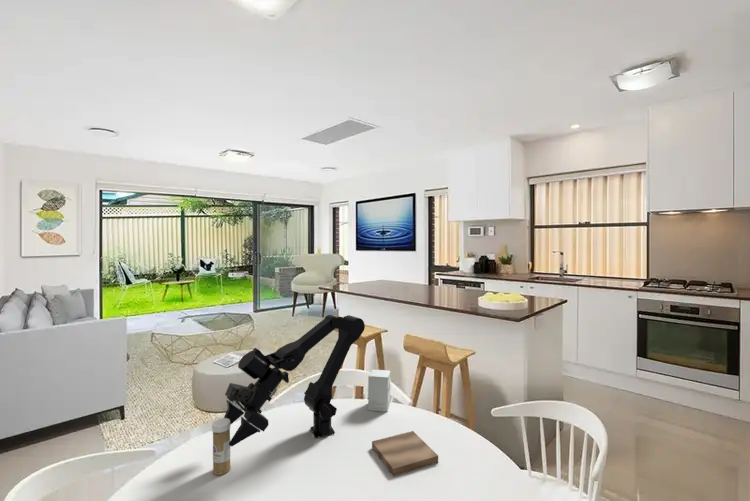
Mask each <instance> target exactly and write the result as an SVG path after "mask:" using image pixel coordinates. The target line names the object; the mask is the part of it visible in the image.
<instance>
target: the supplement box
mask: <svg viewBox="0 0 750 501" xmlns="http://www.w3.org/2000/svg"><path fill="white" fill-rule="evenodd" d="M367 378H368V379H367V380H368V382H367V383H368V384H367V386H368V388H367V392H368V394H367V395H368V397H367V400H368V401H367V402H368V403H367V409H368V411H373V412H375V411H376V412H383V413H385V412H386V413H387V412H388V410H389V408H390V404H391V370H387V369H386V370H385V369H371V371H370V373H369V374H368V377H367Z"/></svg>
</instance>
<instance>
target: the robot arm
mask: <svg viewBox="0 0 750 501" xmlns="http://www.w3.org/2000/svg"><path fill="white" fill-rule="evenodd" d="M365 329H366V324H365V322H364V320H363V319H362V318H360V317H357V316H354V315H349V314H348V315H345V316H340V315H339V316H338V315H333V314H327V315H326V316H325V317H324V319H322V320H321V321H320V322H319V323H317V324H316V325H314V326H313V327H312V328H311V329H310V330H308V331H307V332H306V333H304V334H303V335H302V336H301V337H300V338H298V339H297V340H295V341H292V342H289V343H287V344H284V345H283V346H281V347H279V348H278V349H277V350H276V351H274V352H271V353H269V354H266V355H265V354H263V353H262V351H261V350H260V349H259V348H257V347H254V348H253V349H252V350H251V351H248V352H247V353H245V354H244V355H242V357H241V358H240V360H239V362H238V364H237V366H238V369H239V370H240V371H242V372H243V373H244V374H246V375H247V376H249V377H250V378H252V379H253V380H256V381H255V383H253V382H251V383H249V384H248V385H247V386H245V385H242V384H236V383H231V382H230V383H229V384H228V387H227V388H226V391H225V393H224V395H225V396H226V398H227V399H226V407H227V409H226V412H225V413H224V417H223V418H228V419H230V426H231V425H232V424H233V423H234V422H236V421H237V420H238V419H240V425H239V427H238V429H237V430H236V432H235V433H234V435H233V436H232V437H231V438H230V443H229V445H230V448H231V447H234V446H235V445H237V444H239V443H241V442H242V441H244V440H246V439H247V438H248V437H250V436H253V435H255V434H256V433H260V432H265V430H266V429H267V428H268V427H269V419H268V418H267V417H266V416H265V415H263V414H262V412H263V411H262V408H263V406H264V405H265V404H266V402H267V401H268V402H271V400H273V398H272V397H271V396H272V394H273V393H274V392H275V390H276V389H277V388H278V386H279V385H280V384H281V382H282V381H283V382H285V383H286V384H288V383H289V384H290V379H289V378H290V377H289V374H290V373H288V372H292V371H294V370H296V368H298V366H299V365H300V364H301V363H302V361H303V360H304V359H305V357H306V354H307V353H308V352H310V350H312V348H314V347H315V346H316V345H318V344H319V343H320V342H321V341H323V339H325V338H326V337H327V336H329V334H330V333H332V332H333V331H334V330H338V331H337V333H338V337H337V340H336V343H335V345H334V346H333V348H332V351H331V353H330V355H329V357H328V360H327V361H326V364H325V365H324V367H323V370H322V372H321V374H320V376H319V377H318V379H317V380H316V381H315V382H312V381H310V382H309V383H308V385H307V389H305V392H304V397H303V401H304V404H305V406H306V407H308V410H310V411H312V412H313V415H312V416H313V418H312V419H313V426H310V430H311V433H312V435H313V438H315V439H317V438H322V437H325V436H330V435H334V434H335V433H336V432H335V430H334V428H333V426H332V418H333V417H335V415H336V413H337V410H338V409H337V407H336V406H334V405H333V404H332V403H331V402H332V399H333V398H332V397H333V385H334V383H335V381H336V379H337V377H338V374H339V372H340V370H341V367H342V365H343V364H344V361H345V360H346V358H347V355H348V352H349V351H350V348H351V346H352V345H353V344H354V343H355V342H357V341H358V340H359V339H360V337H361V336H362V334H363V333H364V331H365ZM271 366H272V367H273V368H272V367H271ZM281 369H282V370H284V371H282V370H281Z"/></svg>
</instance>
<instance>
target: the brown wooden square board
mask: <svg viewBox="0 0 750 501" xmlns="http://www.w3.org/2000/svg"><path fill="white" fill-rule="evenodd" d="M371 448H372V450H373V451H374V453H375V454H376V455H377V457H378V458H379V459H380V461H381V463H383V465H384V466H385V467H386V469H387V470H388V471H389V473H390V474H391V475H392V477H395V476H398V475H402V474H405V473H409V472H412V471H415V470H419V469H421V468H422V469H423V468H425V467H429V466H432V465H436V464H438V463H439V455H438V454H437V453H436V452H435V451H434V449H432V448H431V447H430V446H429V445H428V444H427V443H426V442H425V441H424V440H423V439H422V438H421V437H420V436H419V435H418V434H417V433H416V432H414V430H411V431H408V432H404V433H400V434H399V433H398V434H395V435H393V436H387V437H384V438H380V439H376V440H372V441H371Z"/></svg>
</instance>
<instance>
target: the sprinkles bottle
mask: <svg viewBox="0 0 750 501" xmlns="http://www.w3.org/2000/svg"><path fill="white" fill-rule="evenodd" d="M211 431H212V463H213V464H212V465H213V467H212V473H213V474H214V475H215V476H222V475H225V474H227V473H228V472H230V470H231V446H230V445H229V443H230V441H231V425H230V419H228V418H224V417H222V418H217V419H215V420H214V421H213V422H212V423H211Z"/></svg>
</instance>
